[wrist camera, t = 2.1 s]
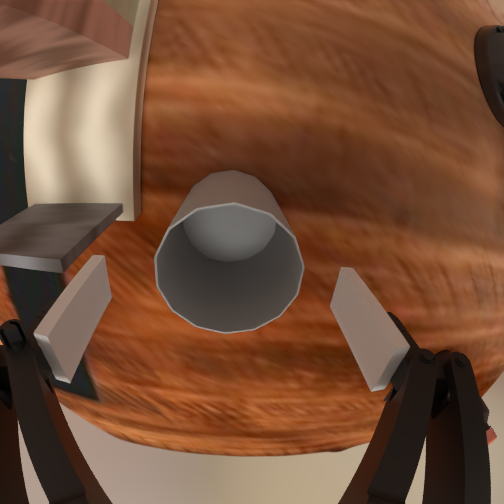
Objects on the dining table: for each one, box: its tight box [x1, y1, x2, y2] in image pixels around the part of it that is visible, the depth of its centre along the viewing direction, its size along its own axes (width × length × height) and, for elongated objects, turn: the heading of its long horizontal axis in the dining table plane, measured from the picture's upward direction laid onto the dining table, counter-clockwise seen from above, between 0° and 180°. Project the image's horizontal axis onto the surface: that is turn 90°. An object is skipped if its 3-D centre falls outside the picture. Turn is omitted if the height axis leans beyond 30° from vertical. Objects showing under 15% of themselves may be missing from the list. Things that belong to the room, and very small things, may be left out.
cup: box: [154, 170, 305, 334], centre depth 20 cm, size 8×8×10 cm
